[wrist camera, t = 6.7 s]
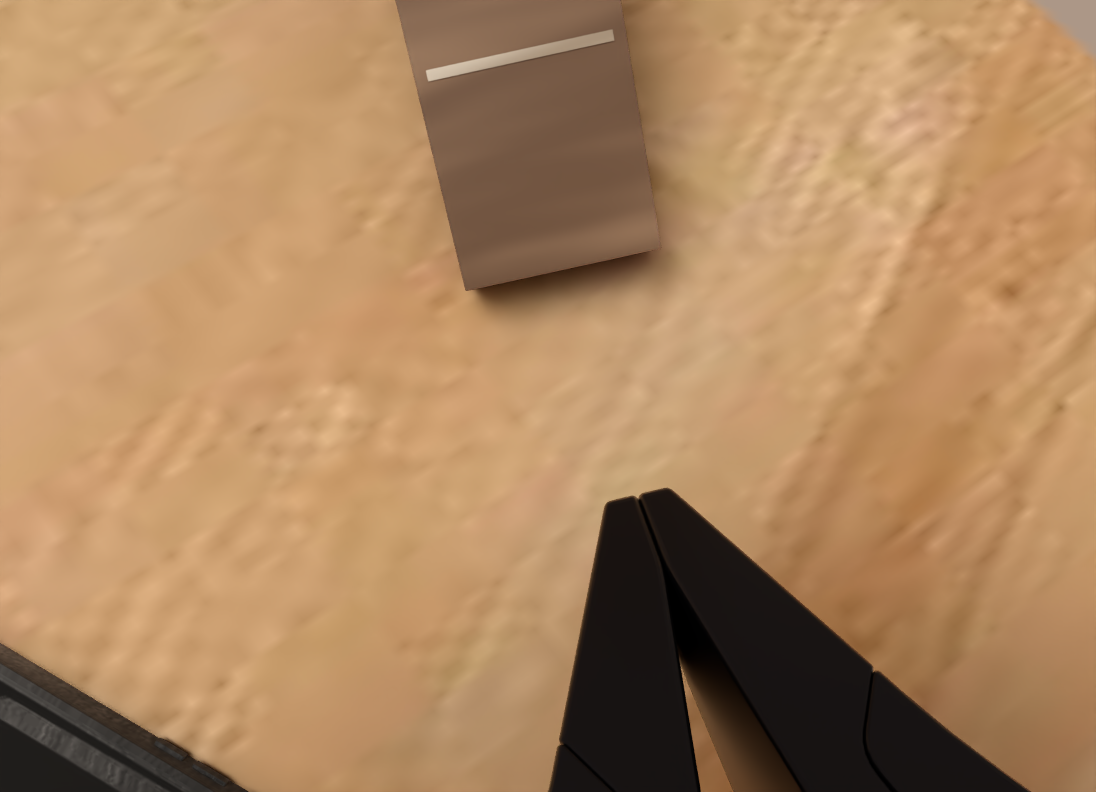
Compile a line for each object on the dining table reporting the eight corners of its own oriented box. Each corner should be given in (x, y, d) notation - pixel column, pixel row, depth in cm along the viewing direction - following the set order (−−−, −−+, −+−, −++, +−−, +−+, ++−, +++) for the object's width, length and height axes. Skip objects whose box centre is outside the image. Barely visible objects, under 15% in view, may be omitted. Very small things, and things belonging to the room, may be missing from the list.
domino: (661, 248, 18) (584, -223, 15) (465, 291, 18) (353, -172, 15) (647, 244, 20) (576, -178, 17) (469, 283, 20) (370, -132, 17)
